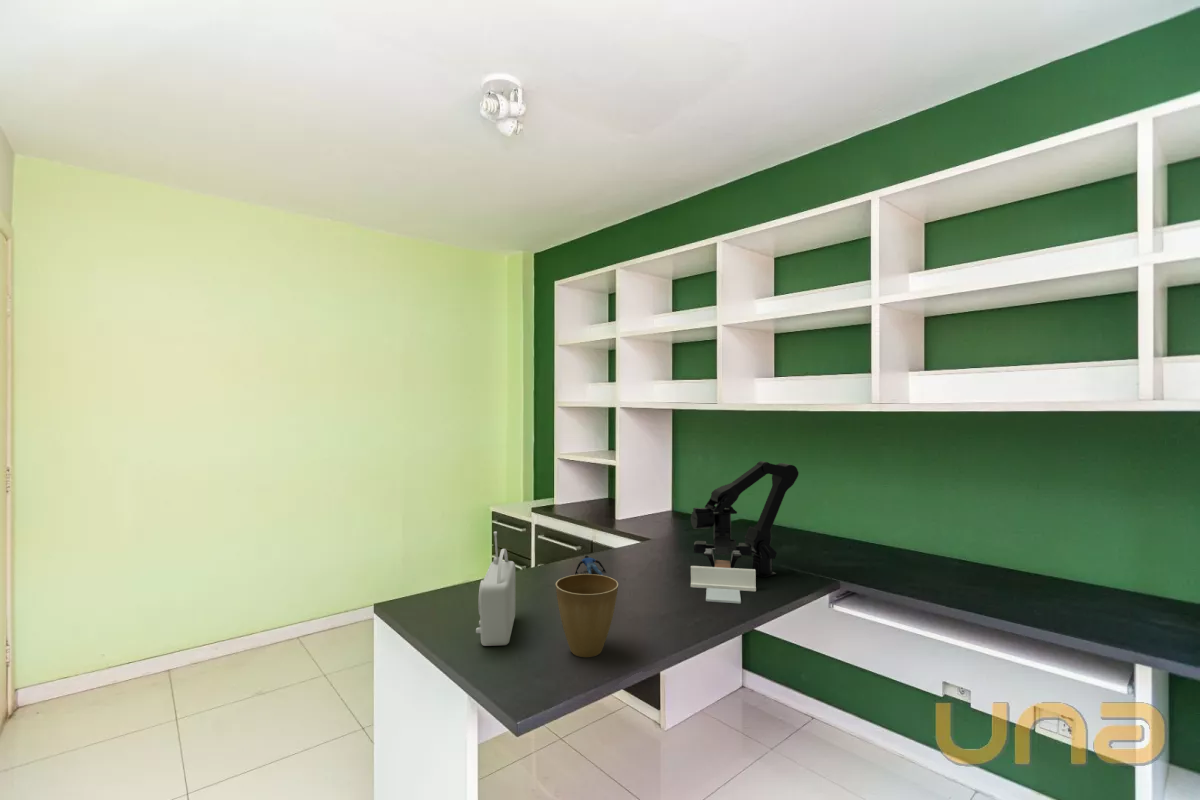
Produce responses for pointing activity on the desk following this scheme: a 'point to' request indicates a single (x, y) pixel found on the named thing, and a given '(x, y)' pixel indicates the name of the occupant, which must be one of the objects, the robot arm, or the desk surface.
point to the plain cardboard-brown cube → (722, 563)
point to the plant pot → (586, 611)
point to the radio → (497, 601)
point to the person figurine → (590, 565)
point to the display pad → (723, 595)
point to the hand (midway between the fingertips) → (722, 573)
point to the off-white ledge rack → (723, 578)
